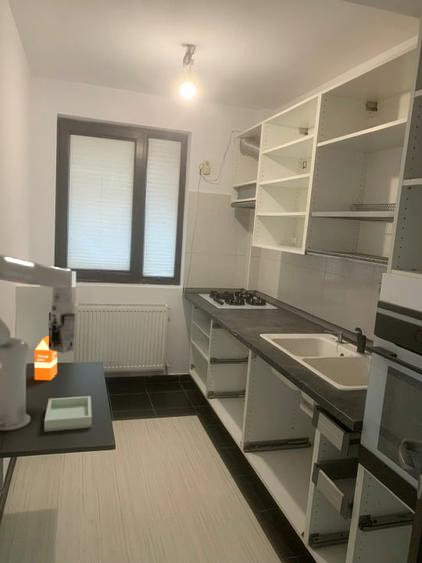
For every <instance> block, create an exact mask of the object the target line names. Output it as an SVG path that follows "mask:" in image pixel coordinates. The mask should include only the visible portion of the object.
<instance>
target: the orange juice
mask: <svg viewBox="0 0 422 563" xmlns="http://www.w3.org/2000/svg"><path fill="white" fill-rule="evenodd" d="M56 374H57V375H58V352H57V351H52V350H49V334H47V336H45V337H44V338H42V339H41V341H40V342H39V344H37V346H36V348H35V349H34V380H35V381H36V380H37V381H51V380H53V378H55V377H56V376H57V375H56ZM55 375H56V376H55Z"/></svg>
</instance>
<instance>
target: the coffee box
mask: <svg viewBox="0 0 422 563" xmlns="http://www.w3.org/2000/svg"><path fill="white" fill-rule="evenodd" d="M50 320H51V311H50V312H48V322H49V321H50ZM55 324H57V323H56V322H55ZM56 327H57V326H55V328H56ZM75 329H76V313H75V312H74V313H69V314H64V315H62V325H61V326H60V325H59V330H58V332H59V341H52V331H51V329H50V327H49V326H48V335H49V350H52V351H57V353H60V354H61V353H62V354H66V353H68V352H69V353H70V352H72V351H73V352H74V351H75V333H76V331H75Z"/></svg>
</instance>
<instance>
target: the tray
mask: <svg viewBox="0 0 422 563" xmlns="http://www.w3.org/2000/svg"><path fill="white" fill-rule="evenodd" d="M92 417H93V416H92V398H91V395H88V396H87V395H86V396H72V397H59V398H57V397H56V398H48V402H47V405H46V412H45V417H44V422H43V423H44V428H43V430H44V432H53V431H64V430H66V429H67V430H74V429H75V430H76V429H86V428H92V421H93V420H92V419H93V418H92Z"/></svg>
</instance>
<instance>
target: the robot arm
mask: <svg viewBox="0 0 422 563" xmlns="http://www.w3.org/2000/svg"><path fill="white" fill-rule="evenodd" d="M0 281H5V282H11V283H16V284H23V285H31V286H32V285H33V286H34V285H35V286H40V287H44V288H52V302H51V308H50V312H51V320H50V321H49V320H48V323H47V325H48V328H49V327H50V329H51V331H52V341H59V332H58V330H59V325H60V326H61V325H62V315H64V314H69V313H74V314H75V312H74V311H75V309H74V303H73V302H74V301H73V299H72V295H73V293H72V292H73V291H72V290H73V271H72V269H71V268H67V267H57V266H56V267H55V266H52V265H46V264H41V263H38V262H33V261H28V260H24V259H20V258H16V257H14V256H13V257H12V256H8V255H5V254H0ZM55 322H56V323H57V324H55ZM55 326H57V327H56V328H55ZM10 331H11V330H10V328H9V327H8V326H7V324H6V323H5V322H4V321H3V319H1V317H0V365H1V367H0V431H13V430H17V429H21V428H23V427H26V426H27V425H28V424H29V423H30V422H31V416H30V414H27V413H26V412H27V411H26V409H27V408H26V407H27V404H26V403H27V400H26V399H27V396H26V395H27V394H26V391H27V390H26V387H27V379H26V374H27V363H28V358H29V353H30V348H29V346H28V343H27V342H26V341H25V340H22V339H20V338H15V337H11V332H10Z"/></svg>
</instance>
